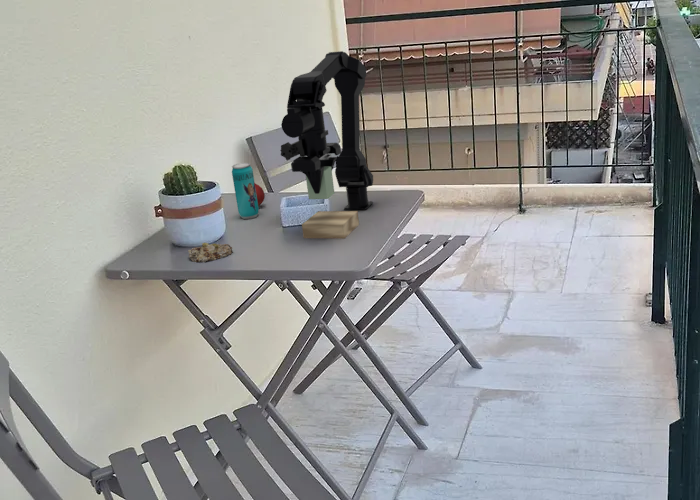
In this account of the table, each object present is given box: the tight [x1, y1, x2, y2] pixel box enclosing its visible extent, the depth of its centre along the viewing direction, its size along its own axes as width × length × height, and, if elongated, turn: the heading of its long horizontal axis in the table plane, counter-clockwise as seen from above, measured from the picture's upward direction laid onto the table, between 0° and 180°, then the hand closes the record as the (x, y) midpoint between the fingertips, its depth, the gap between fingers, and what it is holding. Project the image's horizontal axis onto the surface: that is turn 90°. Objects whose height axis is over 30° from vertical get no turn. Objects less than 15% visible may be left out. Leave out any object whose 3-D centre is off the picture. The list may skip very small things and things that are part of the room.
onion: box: [255, 183, 265, 208], centre depth 221 cm, size 6×6×8 cm
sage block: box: [305, 166, 335, 200], centre depth 188 cm, size 5×5×7 cm
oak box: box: [301, 210, 360, 240], centre depth 191 cm, size 11×11×4 cm
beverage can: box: [231, 162, 260, 220], centre depth 211 cm, size 6×6×15 cm
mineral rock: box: [187, 242, 234, 263], centre depth 183 cm, size 11×4×8 cm
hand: (321, 190), depth 189 cm, fingers closed on sage block, 5 cm apart
